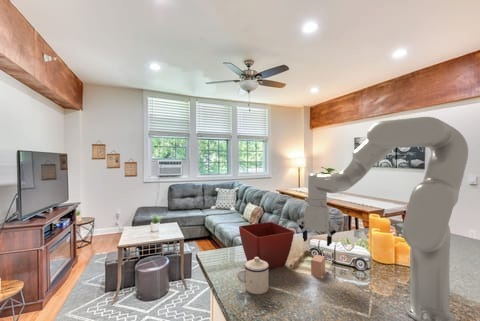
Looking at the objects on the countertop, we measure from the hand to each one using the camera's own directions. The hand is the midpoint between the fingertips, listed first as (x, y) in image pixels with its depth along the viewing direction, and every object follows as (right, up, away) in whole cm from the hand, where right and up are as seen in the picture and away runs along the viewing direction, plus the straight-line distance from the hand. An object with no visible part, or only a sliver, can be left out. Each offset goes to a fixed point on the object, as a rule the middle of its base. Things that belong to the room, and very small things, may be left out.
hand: (316, 242), depth 102 cm
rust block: (+1, -12, 0) cm, 12 cm away
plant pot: (-21, -14, +9) cm, 26 cm away
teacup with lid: (-27, -14, -11) cm, 33 cm away
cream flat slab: (+1, -13, +7) cm, 15 cm away
